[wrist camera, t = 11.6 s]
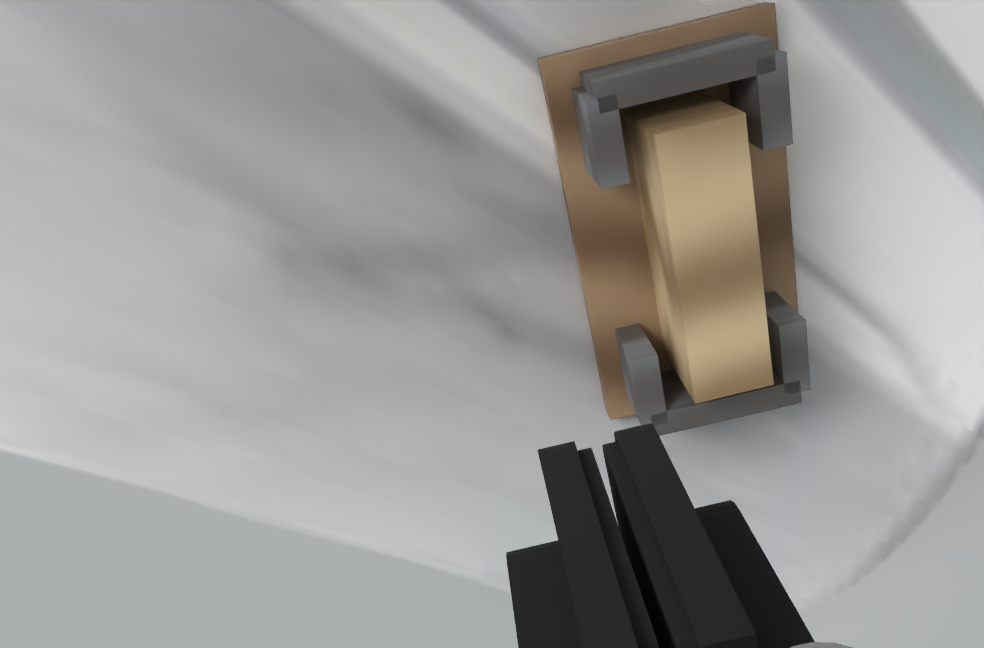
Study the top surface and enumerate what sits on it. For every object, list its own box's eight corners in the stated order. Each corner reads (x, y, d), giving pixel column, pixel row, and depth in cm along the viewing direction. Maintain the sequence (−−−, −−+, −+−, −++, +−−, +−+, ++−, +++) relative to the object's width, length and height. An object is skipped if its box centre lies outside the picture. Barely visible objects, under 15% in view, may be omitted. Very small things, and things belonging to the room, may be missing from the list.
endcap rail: (537, 58, 35) (552, 71, 31) (765, 2, 35) (811, 7, 31) (606, 410, 42) (625, 458, 38) (794, 366, 42) (834, 409, 38)
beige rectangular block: (625, 113, 35) (654, 135, 31) (704, 93, 35) (745, 112, 31) (665, 353, 40) (695, 403, 36) (734, 336, 40) (773, 384, 35)
